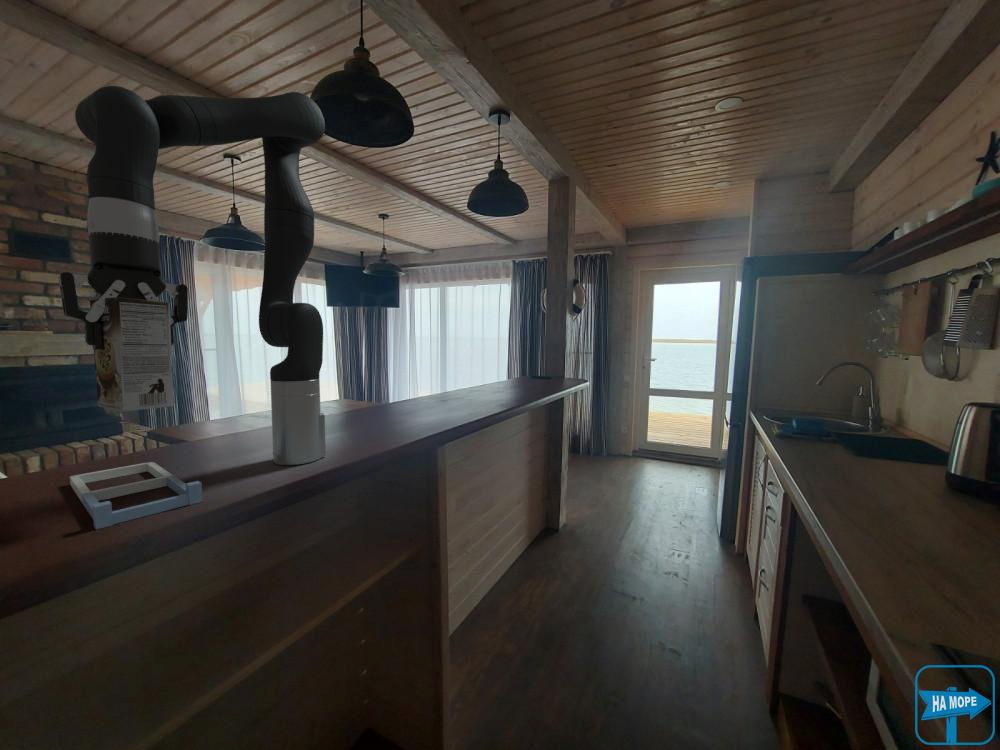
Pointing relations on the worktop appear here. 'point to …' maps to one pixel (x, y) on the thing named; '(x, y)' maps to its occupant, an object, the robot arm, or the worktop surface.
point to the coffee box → (134, 355)
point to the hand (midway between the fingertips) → (132, 348)
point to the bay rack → (103, 510)
